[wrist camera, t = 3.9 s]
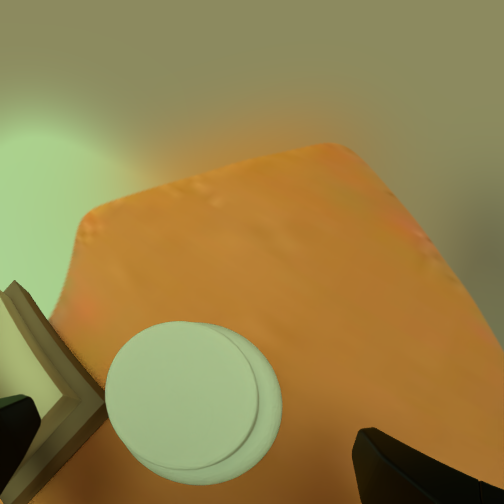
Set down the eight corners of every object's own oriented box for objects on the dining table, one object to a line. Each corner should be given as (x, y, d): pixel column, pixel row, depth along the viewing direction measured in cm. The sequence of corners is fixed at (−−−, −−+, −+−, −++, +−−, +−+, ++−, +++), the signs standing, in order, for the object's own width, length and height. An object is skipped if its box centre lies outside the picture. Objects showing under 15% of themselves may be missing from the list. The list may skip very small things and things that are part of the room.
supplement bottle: (165, 369, 17) (85, 294, 8) (263, 364, 17) (278, 282, 9) (169, 464, 14) (80, 489, 5) (273, 459, 14) (305, 492, 6)
